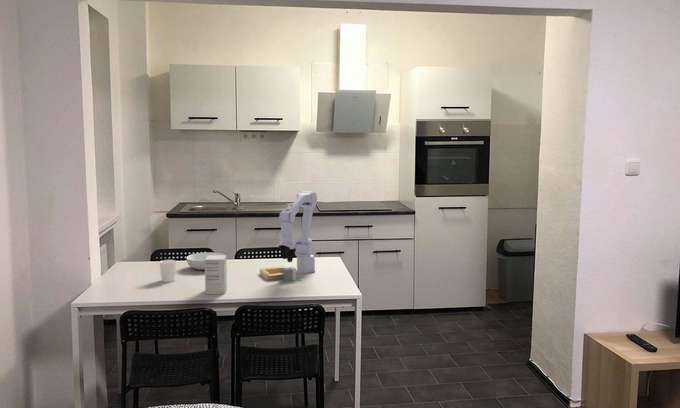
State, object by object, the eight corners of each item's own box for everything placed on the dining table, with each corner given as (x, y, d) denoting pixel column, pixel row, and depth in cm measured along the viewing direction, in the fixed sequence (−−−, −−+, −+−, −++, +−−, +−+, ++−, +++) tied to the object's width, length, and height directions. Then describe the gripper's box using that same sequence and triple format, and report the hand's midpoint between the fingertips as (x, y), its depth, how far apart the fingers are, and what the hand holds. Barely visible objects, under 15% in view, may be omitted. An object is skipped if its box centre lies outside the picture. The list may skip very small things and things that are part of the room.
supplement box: (208, 289, 273) (207, 255, 271) (227, 288, 274) (226, 254, 272) (205, 294, 263) (204, 259, 261) (225, 294, 264) (224, 259, 262)
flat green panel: (296, 277, 295) (296, 276, 295) (302, 281, 287) (302, 280, 287) (274, 279, 290) (274, 279, 290) (280, 284, 282) (280, 283, 282)
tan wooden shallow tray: (283, 271, 308) (283, 265, 307) (294, 278, 292) (294, 272, 292) (258, 274, 302) (258, 268, 301) (268, 281, 286) (268, 275, 286)
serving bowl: (178, 270, 309) (178, 258, 309) (201, 262, 329) (201, 251, 328) (210, 274, 302) (210, 261, 301) (232, 265, 321) (231, 254, 320)
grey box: (293, 278, 291) (293, 266, 291) (296, 280, 288) (295, 268, 287) (282, 279, 289) (282, 268, 288) (284, 281, 285) (284, 269, 285)
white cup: (179, 279, 291) (178, 260, 290) (170, 283, 283) (169, 263, 282) (166, 278, 293) (165, 259, 292) (157, 281, 286) (156, 262, 285)
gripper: (275, 232, 292) (275, 258, 293) (284, 237, 279) (284, 264, 280) (287, 231, 295) (288, 256, 296) (297, 236, 282) (297, 262, 283)
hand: (287, 260), depth 289 cm, fingers open, 7 cm apart
